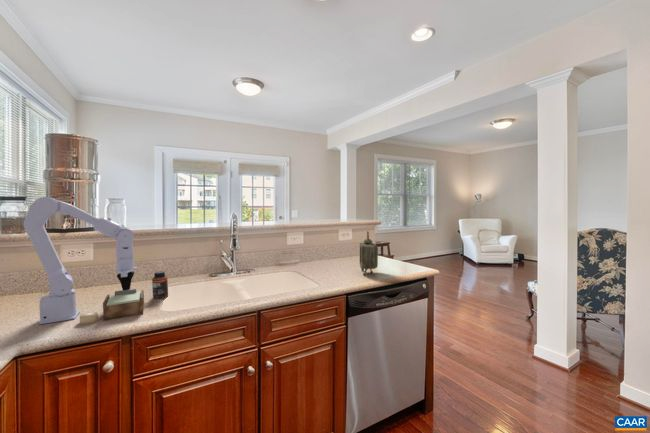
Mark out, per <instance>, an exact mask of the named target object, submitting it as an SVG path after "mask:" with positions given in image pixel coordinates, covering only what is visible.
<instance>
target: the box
mask: <svg viewBox="0 0 650 433" xmlns="http://www.w3.org/2000/svg"><path fill="white" fill-rule="evenodd" d="M140 291H141V294H140V301H137V302H130V303H123V304H116V305H110V306H107V302H108V300H109V298H110V294H106V296H105V298H104V300H103V303H102V315H103V317H102V318H103V321H109V320H115V319H120V318H126V317H132V316H139V315H143V314H144V308H145V293H144V292H145V290H144V289H141V290H140Z"/></svg>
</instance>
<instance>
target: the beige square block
mask: <svg viewBox="0 0 650 433" xmlns="http://www.w3.org/2000/svg"><path fill="white" fill-rule="evenodd" d="M98 321H99V313H98V312H96V311H92V312H87V313H86V312H85V313H83V314H81V315H79V324H80V325H82V326H83V325H90V324H94V323H96V322H98Z"/></svg>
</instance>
